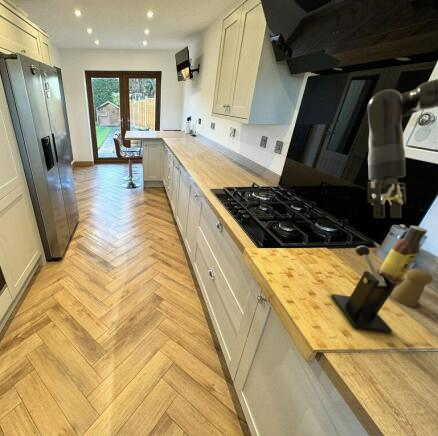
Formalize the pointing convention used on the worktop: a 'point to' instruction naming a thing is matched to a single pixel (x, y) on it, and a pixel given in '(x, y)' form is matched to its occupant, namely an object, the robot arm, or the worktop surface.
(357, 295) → the bracket
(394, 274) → the sauce bottle
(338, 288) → the worktop surface
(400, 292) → the cork
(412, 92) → the robot arm
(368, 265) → the lever
